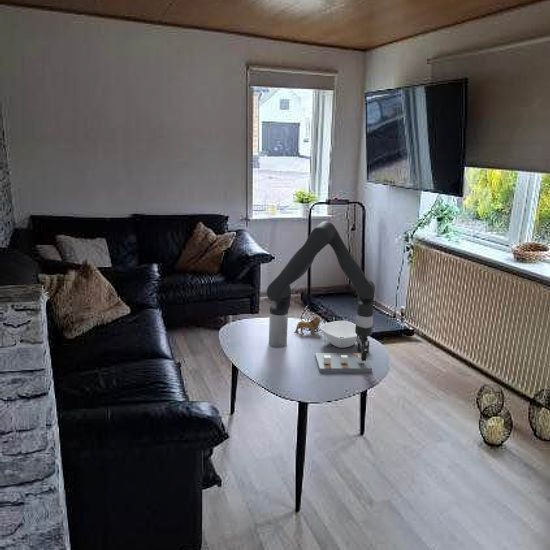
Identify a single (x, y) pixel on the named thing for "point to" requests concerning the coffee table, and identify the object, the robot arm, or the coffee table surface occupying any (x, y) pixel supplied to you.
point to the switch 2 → (344, 359)
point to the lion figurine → (309, 325)
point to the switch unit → (342, 367)
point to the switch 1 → (327, 359)
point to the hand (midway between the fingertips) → (361, 356)
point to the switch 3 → (359, 359)
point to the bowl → (340, 333)
